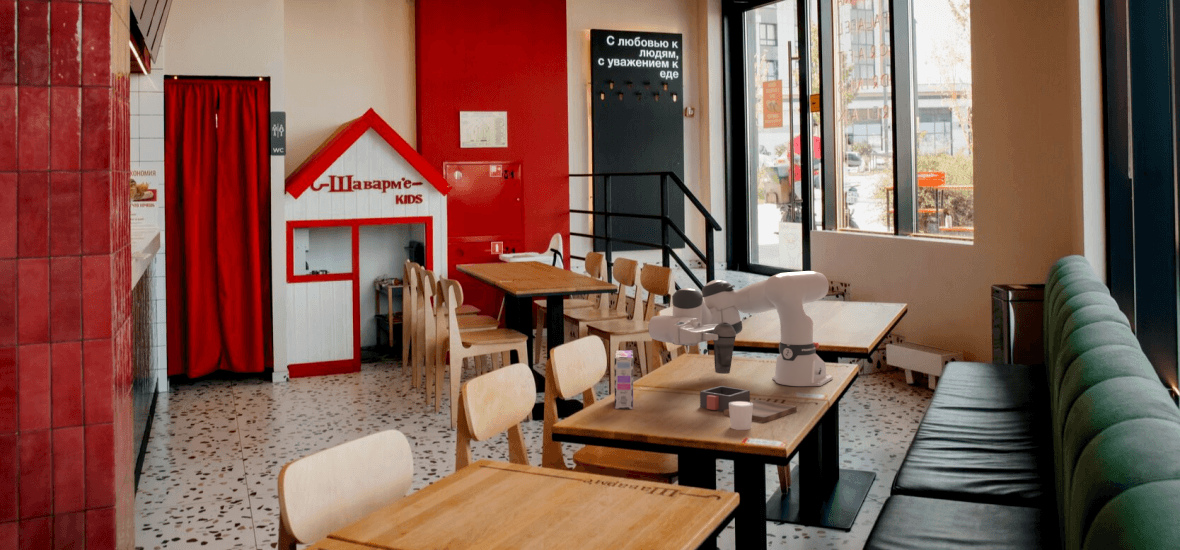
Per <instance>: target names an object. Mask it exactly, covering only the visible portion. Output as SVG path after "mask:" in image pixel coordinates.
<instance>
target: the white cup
mask: <svg viewBox="0 0 1180 550" xmlns="http://www.w3.org/2000/svg"><path fill="white" fill-rule="evenodd" d="M751 402H752V401H750V402H747V401H733V402H729V414H730V416H729V423H730V428H731V429H732V430H737V431H745V430H746V431H747V430H750V429H751V428H752V422H753V420H752V411H753V403H751Z"/></svg>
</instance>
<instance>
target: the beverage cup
mask: <svg viewBox="0 0 1180 550" xmlns="http://www.w3.org/2000/svg"><path fill="white" fill-rule="evenodd" d="M721 320H722V323H720V324H718V325H717V326H716V327H715V328H714V331H713V334H719V335H720V339H719V340H712V342H713V352H714V353H713V354H714V355H713V356H714V357H713V359H714V372H715V373H716V374H721V375H725V374H726V375H727V374H730V373H731V368H732V359H733V353H734V346H735V342H736V337H737V335H736V334H735V330H734V328H733V326H732V325H730V324H729V323H723V311H722V308H721Z"/></svg>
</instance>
